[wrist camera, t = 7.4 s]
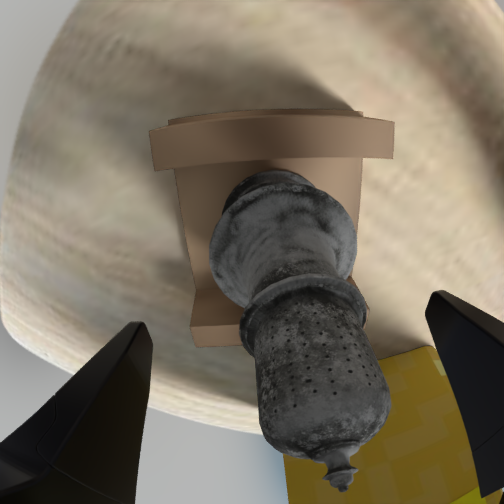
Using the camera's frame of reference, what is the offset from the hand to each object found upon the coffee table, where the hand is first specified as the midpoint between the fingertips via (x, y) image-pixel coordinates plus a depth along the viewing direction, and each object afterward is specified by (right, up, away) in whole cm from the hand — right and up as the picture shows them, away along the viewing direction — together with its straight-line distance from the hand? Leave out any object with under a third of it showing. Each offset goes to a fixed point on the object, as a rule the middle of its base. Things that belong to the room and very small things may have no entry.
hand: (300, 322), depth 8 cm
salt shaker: (0, +4, +6) cm, 7 cm away
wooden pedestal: (0, +4, +7) cm, 8 cm away
